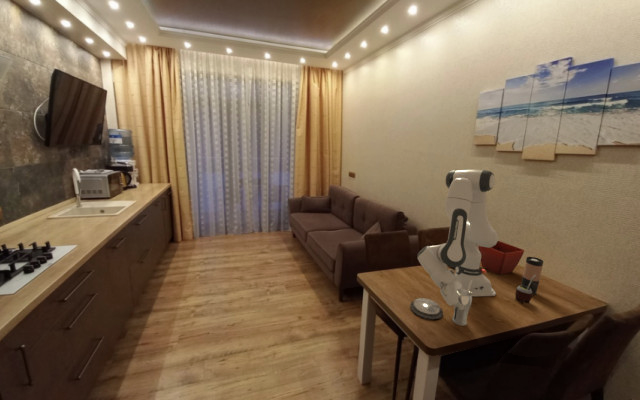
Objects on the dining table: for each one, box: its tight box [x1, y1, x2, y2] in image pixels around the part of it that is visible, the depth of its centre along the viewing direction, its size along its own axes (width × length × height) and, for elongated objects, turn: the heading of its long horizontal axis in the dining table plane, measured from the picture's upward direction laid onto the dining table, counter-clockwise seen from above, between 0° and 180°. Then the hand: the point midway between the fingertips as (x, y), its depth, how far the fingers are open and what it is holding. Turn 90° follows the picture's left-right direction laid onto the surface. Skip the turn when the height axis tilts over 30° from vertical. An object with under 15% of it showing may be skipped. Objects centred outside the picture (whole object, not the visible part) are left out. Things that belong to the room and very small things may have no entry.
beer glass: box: [451, 289, 473, 327], centre depth 123 cm, size 7×7×15 cm
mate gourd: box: [514, 275, 536, 305], centre depth 143 cm, size 8×8×15 cm
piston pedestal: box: [409, 297, 444, 321], centre depth 132 cm, size 15×15×3 cm
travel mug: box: [520, 256, 544, 296], centre depth 153 cm, size 8×8×20 cm
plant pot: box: [478, 240, 525, 276], centre depth 181 cm, size 19×19×17 cm
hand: (463, 304), depth 123 cm, fingers closed on beer glass, 7 cm apart
